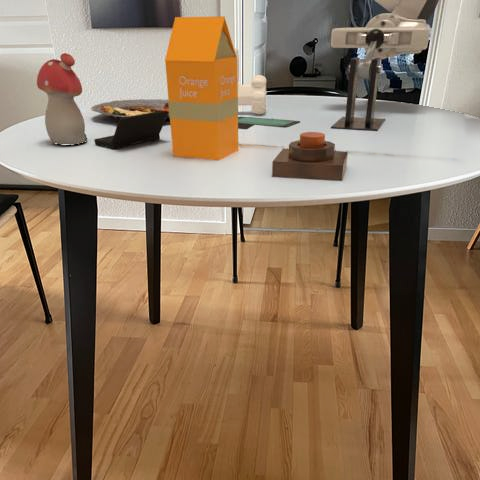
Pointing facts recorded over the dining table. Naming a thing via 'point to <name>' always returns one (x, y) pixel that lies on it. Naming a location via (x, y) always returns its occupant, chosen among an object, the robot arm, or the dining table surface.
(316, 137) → the button
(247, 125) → the smartphone
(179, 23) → the orange juice
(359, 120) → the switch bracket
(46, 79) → the decorative ornament
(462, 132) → the dining table surface
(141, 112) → the food plate
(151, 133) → the black angled stand
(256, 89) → the dog bone
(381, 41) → the switch lever
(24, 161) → the dining table surface
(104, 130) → the dining table surface
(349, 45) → the robot arm
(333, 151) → the button block
